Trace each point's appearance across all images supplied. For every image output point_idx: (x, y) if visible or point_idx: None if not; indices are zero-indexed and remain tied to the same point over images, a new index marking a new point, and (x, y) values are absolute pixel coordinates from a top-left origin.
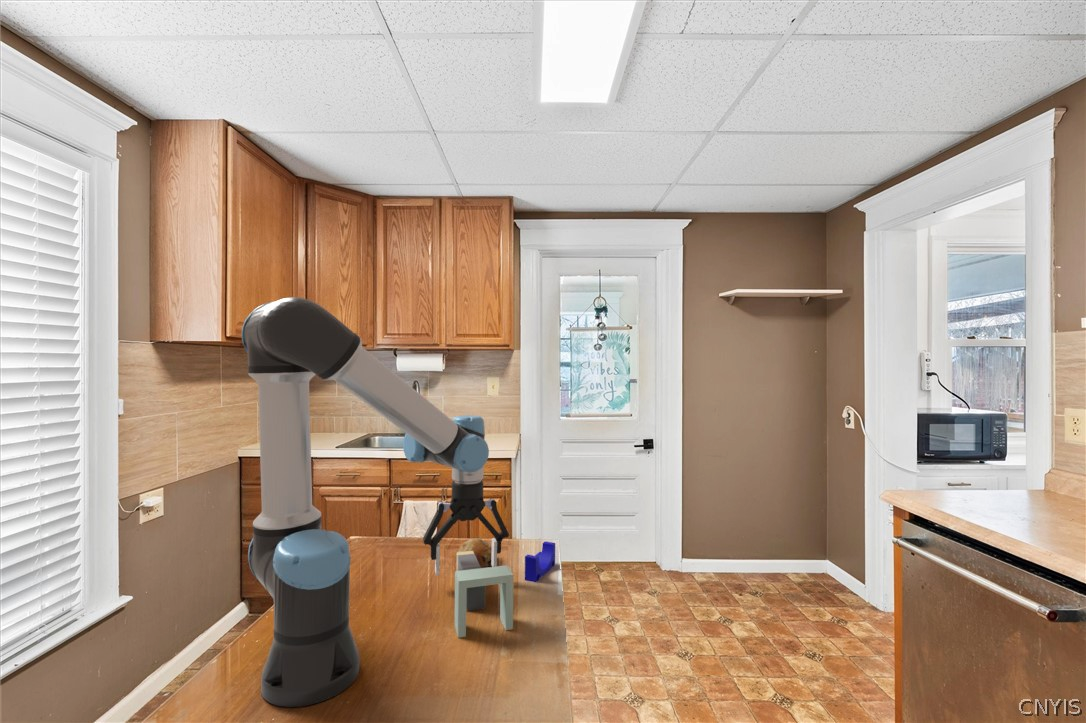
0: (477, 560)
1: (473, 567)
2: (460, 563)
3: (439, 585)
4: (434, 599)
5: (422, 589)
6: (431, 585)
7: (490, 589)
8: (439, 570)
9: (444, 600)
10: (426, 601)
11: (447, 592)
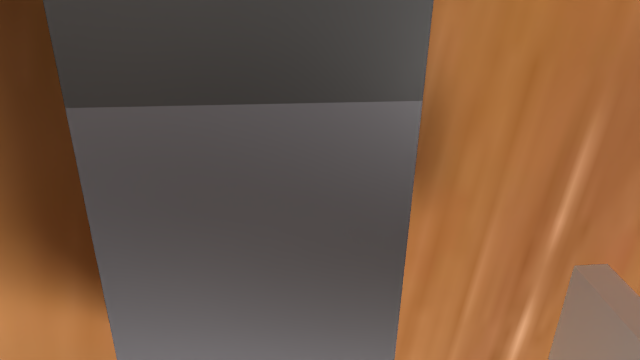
0: (116, 348)
1: (215, 69)
2: (391, 319)
3: (460, 291)
4: (567, 69)
5: (589, 256)
6: (512, 301)
7: (47, 134)
8: (601, 296)
9: (497, 25)
10: (636, 50)
11: (434, 168)
